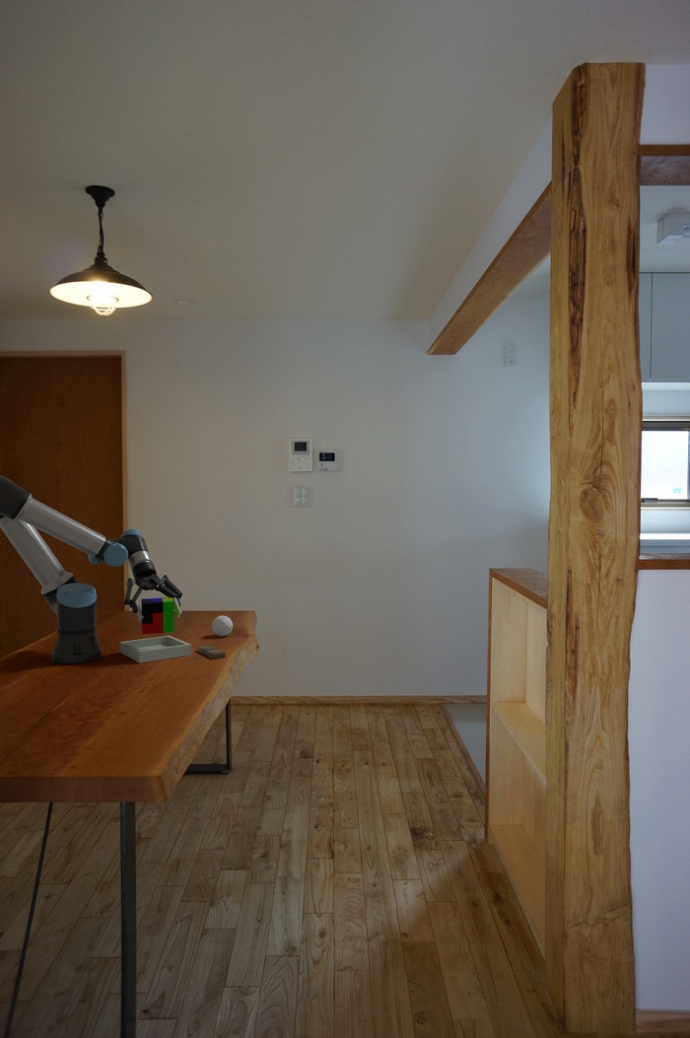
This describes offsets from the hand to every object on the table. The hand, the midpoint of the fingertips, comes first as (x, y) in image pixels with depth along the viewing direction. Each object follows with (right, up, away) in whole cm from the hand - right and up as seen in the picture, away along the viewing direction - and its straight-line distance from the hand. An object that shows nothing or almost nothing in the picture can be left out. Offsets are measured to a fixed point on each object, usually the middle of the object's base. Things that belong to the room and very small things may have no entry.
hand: (160, 617), depth 220 cm
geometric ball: (+14, -12, +31) cm, 36 cm away
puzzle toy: (-2, -5, +2) cm, 5 cm away
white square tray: (-2, -12, +2) cm, 13 cm away
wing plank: (+16, -13, +2) cm, 21 cm away
